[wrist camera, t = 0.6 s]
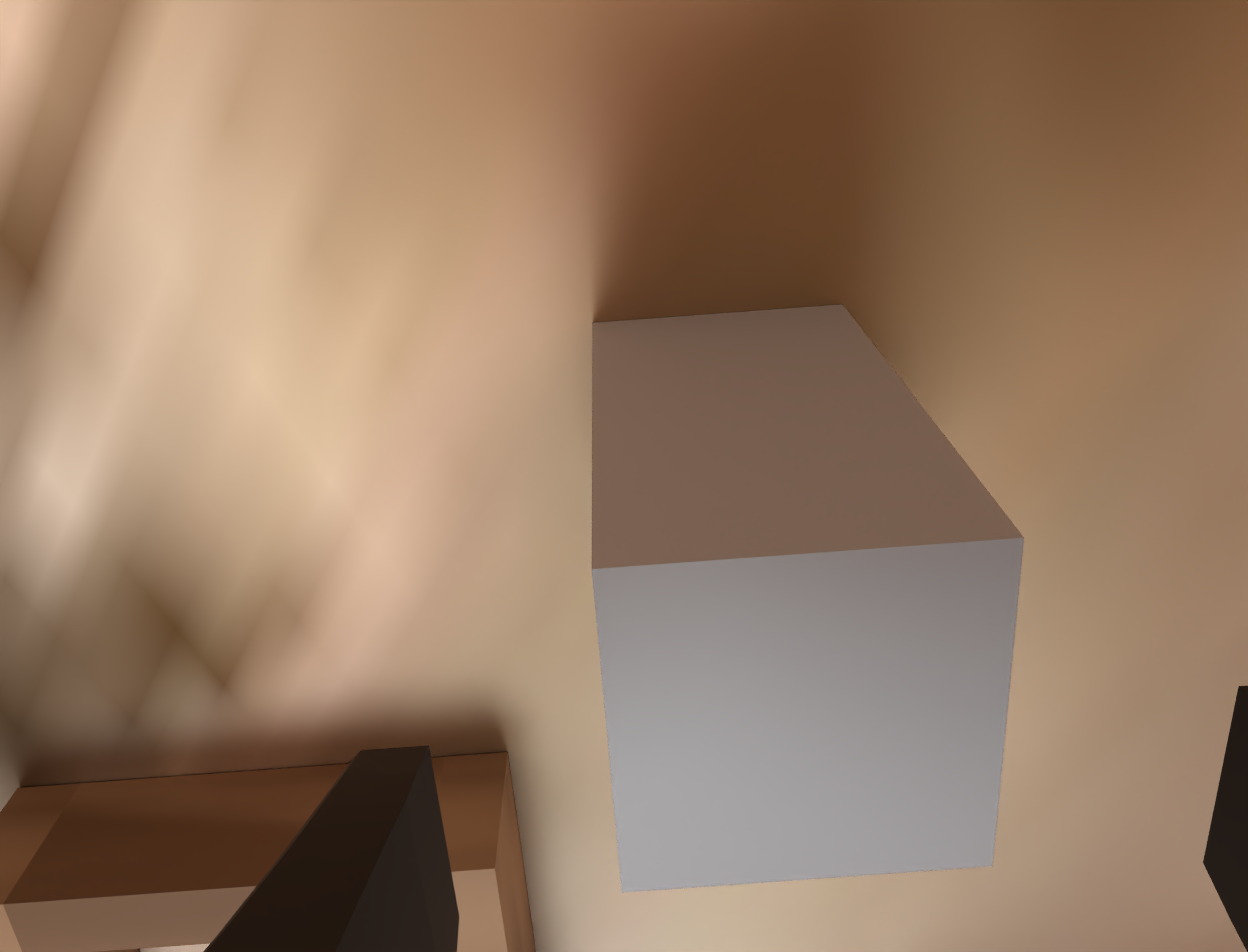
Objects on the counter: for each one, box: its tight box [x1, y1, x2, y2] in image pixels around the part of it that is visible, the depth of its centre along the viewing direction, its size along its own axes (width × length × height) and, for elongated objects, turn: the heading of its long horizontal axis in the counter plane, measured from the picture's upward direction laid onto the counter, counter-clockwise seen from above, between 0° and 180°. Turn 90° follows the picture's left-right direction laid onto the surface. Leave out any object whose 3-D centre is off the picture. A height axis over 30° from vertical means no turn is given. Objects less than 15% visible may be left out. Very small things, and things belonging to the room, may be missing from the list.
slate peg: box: [592, 304, 1024, 893], centre depth 14 cm, size 4×4×8 cm
